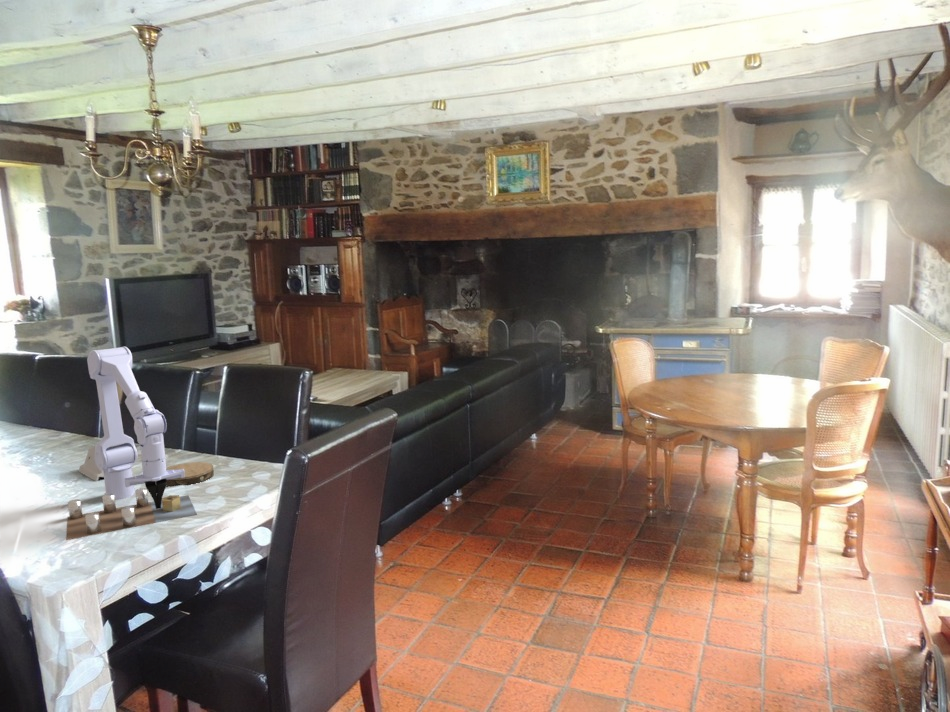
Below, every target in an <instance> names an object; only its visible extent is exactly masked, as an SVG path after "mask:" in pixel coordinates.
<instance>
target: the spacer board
mask: <svg viewBox="0 0 950 712" xmlns="http://www.w3.org/2000/svg"><path fill="white" fill-rule="evenodd" d="M179 497H180V504H181V509H178V510H175V511H170V512H164V511H163V506H162V501H161V508H158V509H156V507H155V503H154V500H153V501H148V502H149V505H148V506H146V507H137V504H136V503H135V504H131V505H126V506H125V505H124V506H121V507H116V511H115V512H113V513H104V509H103V510H97V511H92V512H87V513H82V514H83V517H82V518H79V519H75V520H71V519H70V517H69V516H67V521H66V522H67V523H66V537H65V538H66V539H65V540H66V541H68V540H69V541H70V540H74V539H79V538H85V537H89V536H95V535H100V534H105V533H110V532H111V533H112V532H115V531H122V530H127V529H132V528H136V527H142V526H146V525H152V524H157V523H161V522H163V523H164V522H167V521H168V522H169V521H173V520H177V519H183V518H189V517H194V516H198V514H197V513H198V512H197V510H196V509H195V507H194V504H193V502H192V500H191V498H190V496H189V494H187V495H181V496H180V495H179ZM128 506H133V507H134V508H135V518H136V525H135V526H132V527H123V521H122V511H121V509H122V508H124V507H128ZM90 513H99V518H100V528H101V531H100V532H99V533H96V534H87V527H86V518H85V516H86V515H87V514H90Z"/></svg>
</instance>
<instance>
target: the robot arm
mask: <svg viewBox="0 0 950 712" xmlns="http://www.w3.org/2000/svg"><path fill="white" fill-rule="evenodd" d="M86 358H87V359H86V361H87V362H86V363H87V369H88V374H89V379H92V380H95V383H96V389H97V397H98V402H99V403H98V405H99V410H100V416H101V421H102V423H101V424H102V430H103V436H102V438H101V439H100V440H99V441H97V442H96V443H95V444H94V446H95V463H96V465H97V467H98V468H99V469H100V470H101V471H104V477H103V478H104V490H105V493H104V495H106V494H115V501H118V500H124V499H127V498H130V497H132V496H134V495H135V490H136V489H135V488H134V486H138V485H145V488H147V491H148V494H150V496H151V498H152V500H153V501H154V503H155V507H156V509H158V508H161V501H162V498H163V495H164V493H165V489H166V488H167V486H166V485H167V481H166V480H168V479H174V478H180V477H181V478H185V471H184V469H179V470H167V471H166V468H167V462H166V451H165V440H164V439H165V438H164V434H165V433H166V432H167V429H168V428H167V427H168V425H167V424H168V423H167V419H166V417H165V415H164V414H163V413H162V412H160V411H159V410H158V409H155V407H154V405H153V403H152V401H151V399H150V397H149V396H148V394H147V392H145V391H141V390H140V387H139V385H138V382H137V380H136V378H135V374H134V373H133V370H132V367H133V354H132V352H131V350H130V349H129V348H128V347H127V346H121V347H113V348H104V349H97V350H96V349H92V350H91V351H89V353H88V355H87V357H86ZM117 384H118V385H119V387H120V388H121V390H122V392H123V393H124V395H125V396H126V398H125V400H124V403H125V405H126V406H125V407H126V408H127V409H128V411H129V413H130V416H131V417H132V418H133V419H132V420H133V421H134V422H133V423H134V426H133V430H134V433H135V435H136V439H137V443H138V444H139V446H140V455H141V456H140V457H141V458H140V459H141V466H142V474H138V475H133V468H132V467H134V466H135V463H136V462H137V460H138V456H139V455H138V454H139V453H138V450H137V447H136V445H135V440H134V439H133V438H132V437H131V436H129V435H127V434H125V433H124V428H123V427H124V426H123V421H122V413H121V407H120V406H121V405H120V401H119V394H118V387H117Z"/></svg>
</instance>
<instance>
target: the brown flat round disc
mask: <svg viewBox="0 0 950 712" xmlns="http://www.w3.org/2000/svg"><path fill="white" fill-rule="evenodd" d="M179 469H184V471H185V478H181V477H180V478H174V479H168V480H166V481H167V486H166V487H177V486H184V485H187V486H192V485H191V484H193V485H197V484H196V483H198V484H200V482H201V483H205V482H206V480H207V481H208V479H209V480H211V479H212V478H213V477H214V474H215V472H214V470H215V469H214V465H213V464H212V463H208V462H201V461H198V462H197V461H196V462H185V463H179V464H174V465H172V466H168V467H167V466H166V471H167V470H179ZM210 478H211V479H210Z"/></svg>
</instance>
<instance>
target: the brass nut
mask: <svg viewBox="0 0 950 712" xmlns="http://www.w3.org/2000/svg"><path fill="white" fill-rule="evenodd" d="M162 506H163V511H164V512H170V511H175V510H178V509H181V504H180V494H179V495H178V494H177V495H176V494H175V495H171V494H169V495H167V496H164V497H162Z"/></svg>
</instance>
